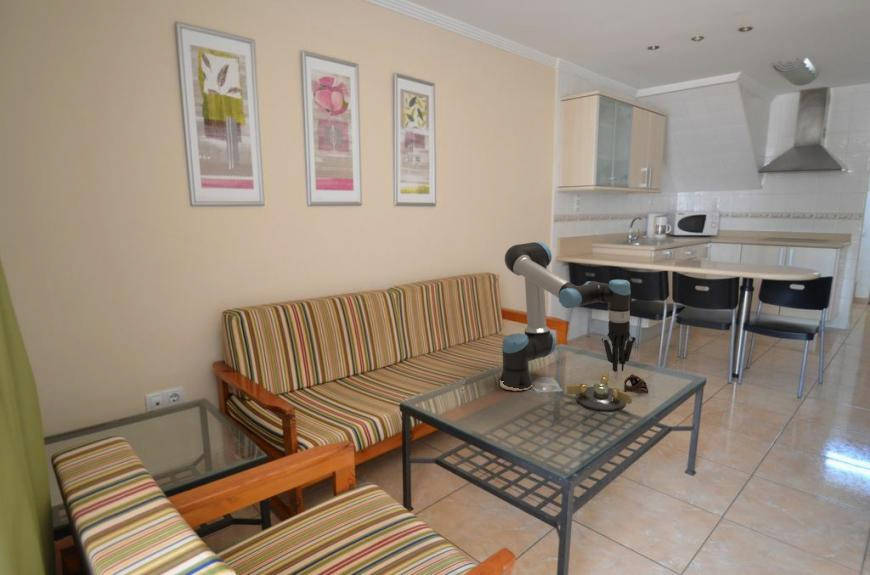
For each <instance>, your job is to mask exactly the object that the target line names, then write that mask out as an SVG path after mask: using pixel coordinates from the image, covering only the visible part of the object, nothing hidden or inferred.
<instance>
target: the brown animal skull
mask: <svg viewBox="0 0 870 575" xmlns="http://www.w3.org/2000/svg"><path fill="white" fill-rule="evenodd" d="M627 382H630V384H631V385H628V384H627ZM623 383H624V386H623V390H624V392H626V393H635V392H637V391H638V392H641V391H642V390H646V393H647V392H648V393H649V388H648V385H647V382H646V381H645V380H644V379H643V378H641V377H640V376H638V375H635V374H633V373H631V374H630V375H629V376H628V377H626V378H625V379H624V382H623ZM641 389H642V390H641Z"/></svg>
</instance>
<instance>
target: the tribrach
mask: <svg viewBox="0 0 870 575" xmlns="http://www.w3.org/2000/svg"><path fill="white" fill-rule="evenodd" d="M613 389H614V388H611V387H610V386H609V385H606V384H603V383H601V382H600V383H599V382H598V383H597V382H596V383H594V384H593V386H587V397H580V394H575V400H576V402H577V403H578V404H579V405H580V406H582V407H583V408H586V409H588V410H591V411H597V412H598V411H599V412H616V411H620V410H622V409H624V408H625V407H626V406H627V403H625V402H623V401H620V402H619V403H615V402H613V401H612V394H613Z"/></svg>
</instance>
